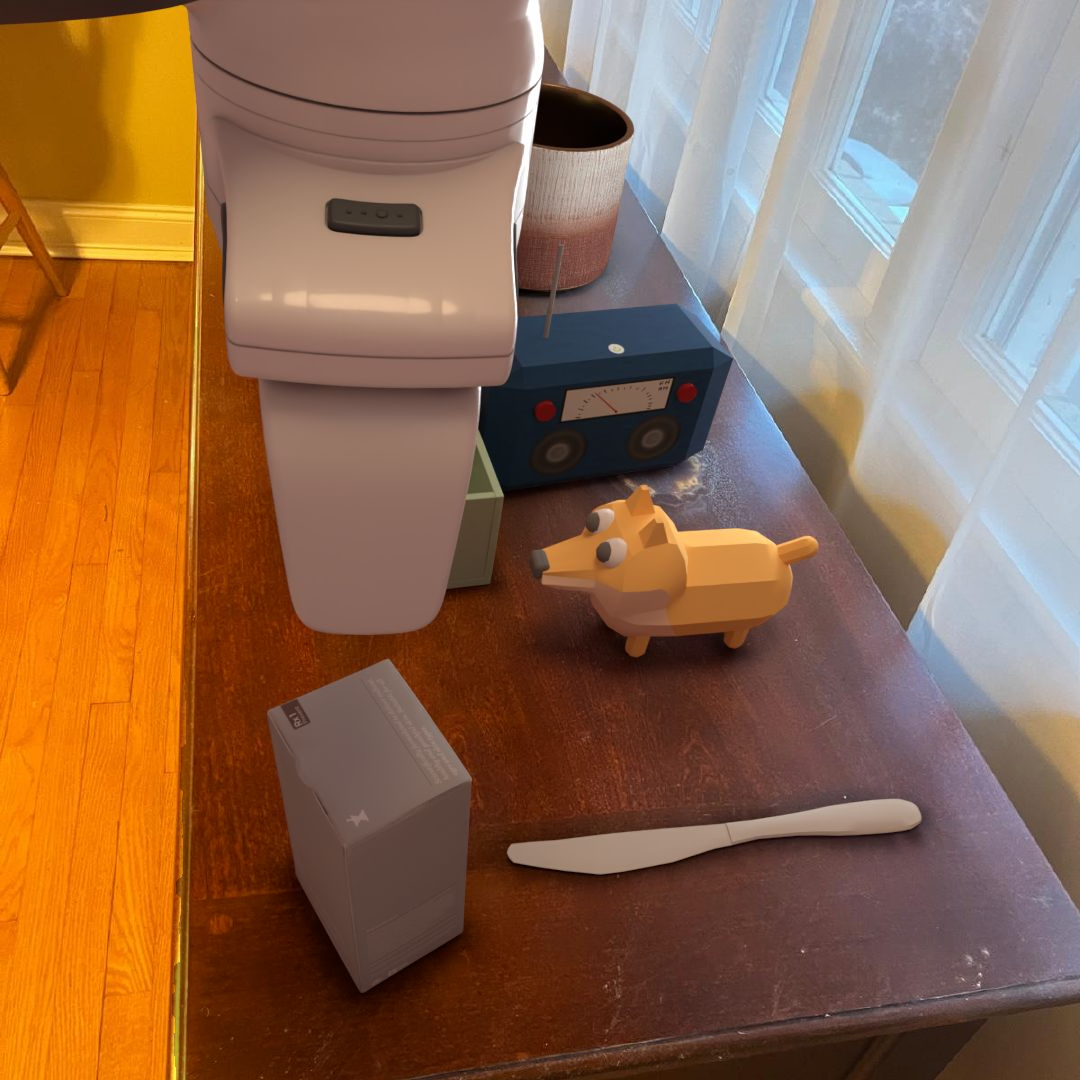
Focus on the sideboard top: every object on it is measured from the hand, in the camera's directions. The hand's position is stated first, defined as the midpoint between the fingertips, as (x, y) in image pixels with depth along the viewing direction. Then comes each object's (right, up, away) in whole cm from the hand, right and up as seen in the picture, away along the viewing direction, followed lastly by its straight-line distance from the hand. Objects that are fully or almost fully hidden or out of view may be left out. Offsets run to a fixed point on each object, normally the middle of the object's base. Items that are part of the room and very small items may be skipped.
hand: (361, 519), depth 37 cm
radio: (+10, +6, +49) cm, 50 cm away
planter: (+5, +31, +73) cm, 79 cm away
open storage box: (-5, 0, +39) cm, 39 cm away
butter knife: (+18, -19, +24) cm, 35 cm away
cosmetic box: (-3, -21, +18) cm, 28 cm away
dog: (+15, -8, +35) cm, 39 cm away
